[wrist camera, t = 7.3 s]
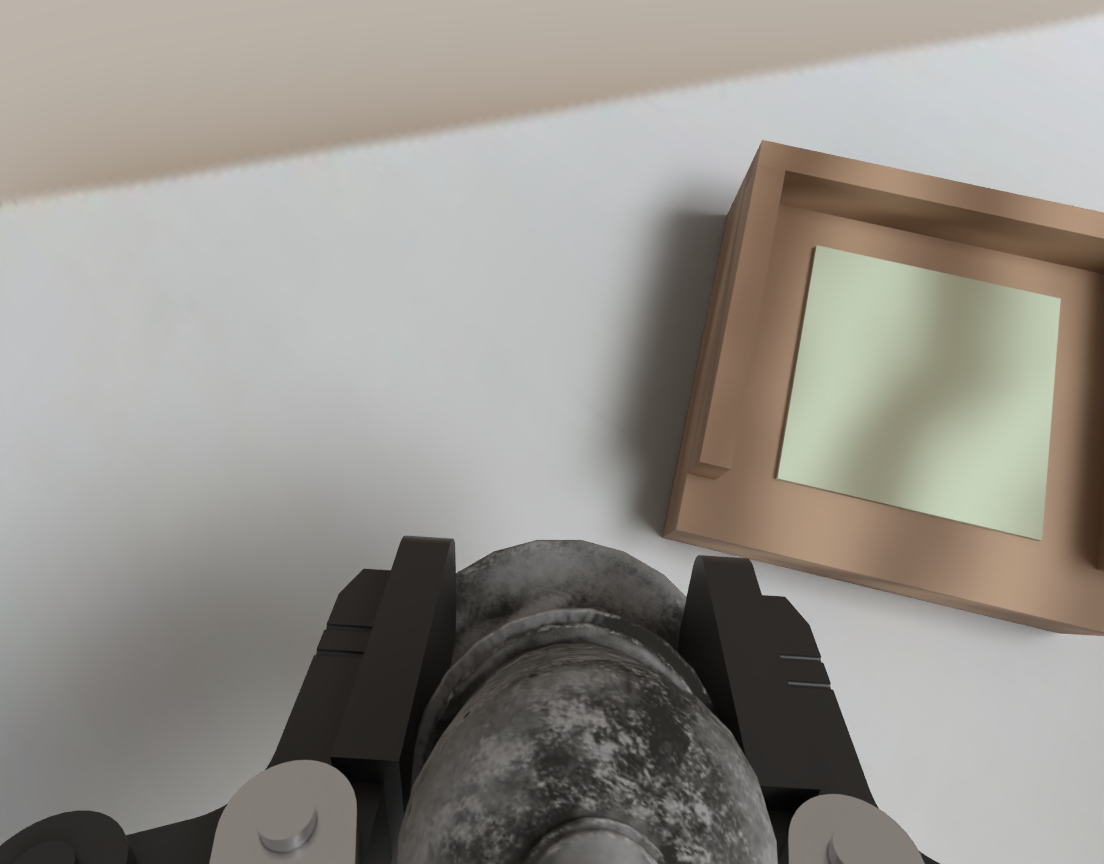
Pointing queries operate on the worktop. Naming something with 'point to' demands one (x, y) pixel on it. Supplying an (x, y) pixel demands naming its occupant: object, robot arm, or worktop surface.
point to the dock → (904, 390)
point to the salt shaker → (576, 726)
